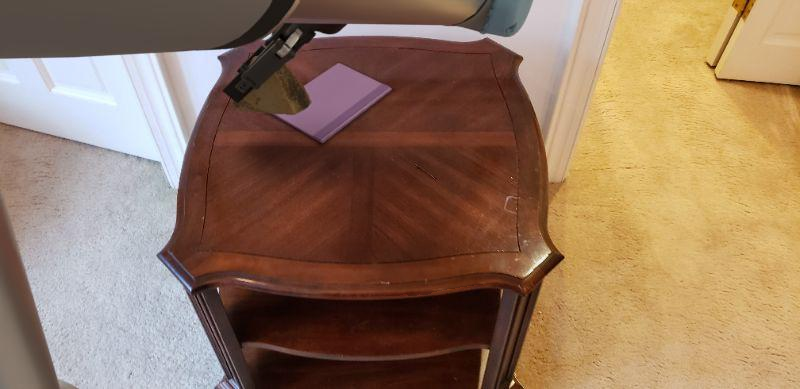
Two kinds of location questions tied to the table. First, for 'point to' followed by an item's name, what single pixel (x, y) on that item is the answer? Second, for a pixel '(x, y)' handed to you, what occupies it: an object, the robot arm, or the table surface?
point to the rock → (277, 95)
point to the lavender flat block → (335, 101)
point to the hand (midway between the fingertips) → (238, 85)
